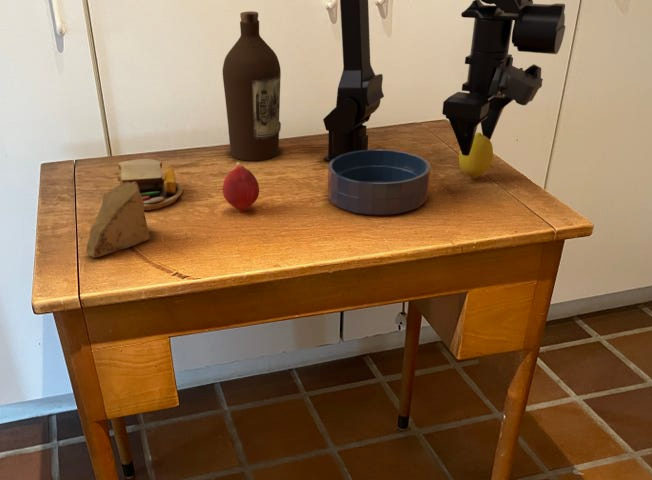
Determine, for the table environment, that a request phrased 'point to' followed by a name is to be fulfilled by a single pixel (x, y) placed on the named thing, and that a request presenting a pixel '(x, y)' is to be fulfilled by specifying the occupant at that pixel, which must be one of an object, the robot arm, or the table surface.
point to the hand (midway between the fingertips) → (476, 147)
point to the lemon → (477, 157)
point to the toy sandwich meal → (150, 182)
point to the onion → (240, 188)
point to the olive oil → (252, 94)
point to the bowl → (378, 181)
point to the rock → (118, 221)
